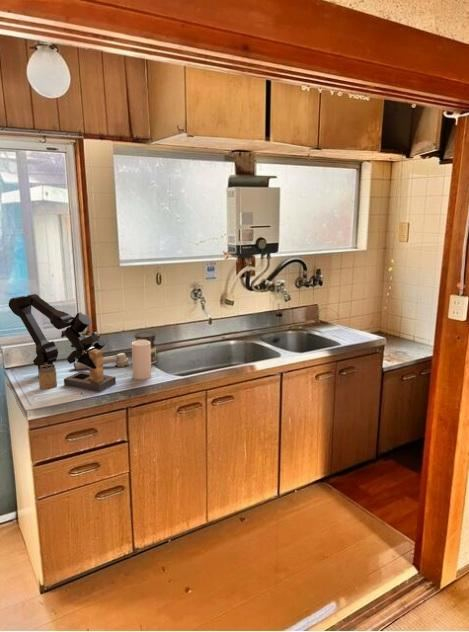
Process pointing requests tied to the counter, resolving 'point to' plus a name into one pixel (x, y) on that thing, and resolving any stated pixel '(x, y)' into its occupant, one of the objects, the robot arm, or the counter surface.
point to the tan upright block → (47, 377)
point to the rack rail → (89, 382)
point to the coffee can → (150, 337)
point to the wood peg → (97, 359)
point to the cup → (141, 359)
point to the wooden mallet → (107, 361)
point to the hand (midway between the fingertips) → (98, 366)
